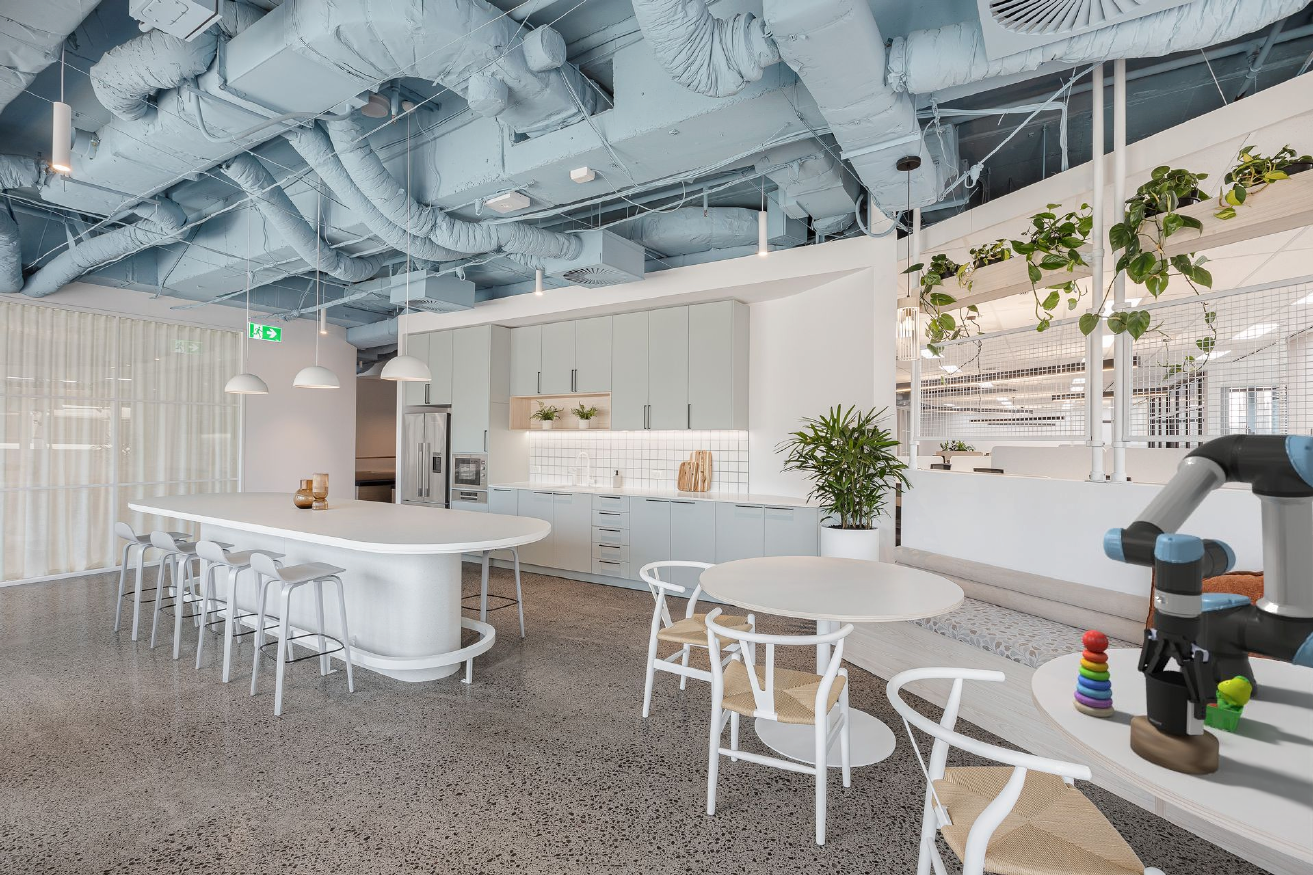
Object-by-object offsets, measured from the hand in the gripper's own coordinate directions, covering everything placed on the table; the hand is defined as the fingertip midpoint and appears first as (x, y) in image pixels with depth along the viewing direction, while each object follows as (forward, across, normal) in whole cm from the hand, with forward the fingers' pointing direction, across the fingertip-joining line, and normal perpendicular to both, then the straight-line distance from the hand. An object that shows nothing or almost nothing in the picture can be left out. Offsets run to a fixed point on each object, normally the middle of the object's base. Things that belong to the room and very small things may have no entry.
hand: (1173, 721), depth 132 cm
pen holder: (+1, 0, 0) cm, 1 cm away
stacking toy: (+7, -20, -2) cm, 21 cm away
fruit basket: (+7, -13, +23) cm, 27 cm away
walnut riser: (+7, 0, 0) cm, 7 cm away
